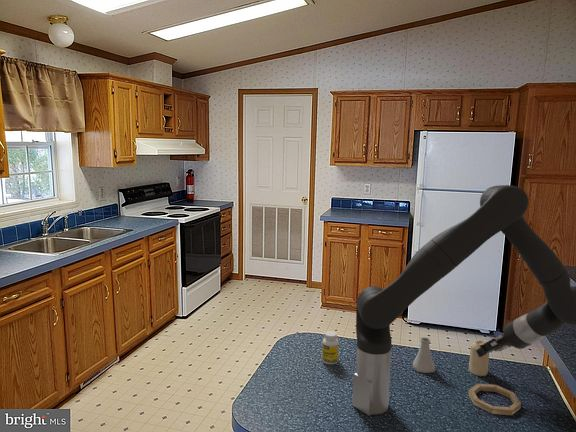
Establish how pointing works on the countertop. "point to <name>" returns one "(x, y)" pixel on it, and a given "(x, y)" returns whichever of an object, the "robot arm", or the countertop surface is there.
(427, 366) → the flask
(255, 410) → the countertop surface
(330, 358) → the supplement bottle
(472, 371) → the candle
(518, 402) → the maple ring
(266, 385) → the countertop surface
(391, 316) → the robot arm
